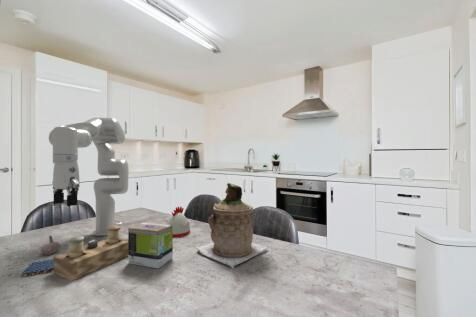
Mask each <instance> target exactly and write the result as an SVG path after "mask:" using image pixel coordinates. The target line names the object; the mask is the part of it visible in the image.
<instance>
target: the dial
mask: <svg viewBox="0 0 476 317" xmlns="http://www.w3.org/2000/svg"><path fill="white" fill-rule="evenodd" d="M98 242H99V240H98V239H90V240H88V241H87V245H86V246H87V248H88V249H93V248H96V247H98Z"/></svg>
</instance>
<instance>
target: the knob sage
mask: <svg viewBox="0 0 476 317" xmlns="http://www.w3.org/2000/svg"><path fill="white" fill-rule="evenodd" d="M84 239H85V237H84V236H76V237H75V236H74V237H71V238H68V241H67V243H68V252H69V259H72V260H73V259H75V258H78V257H81V256H83V247H84V241H85V240H84Z"/></svg>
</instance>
